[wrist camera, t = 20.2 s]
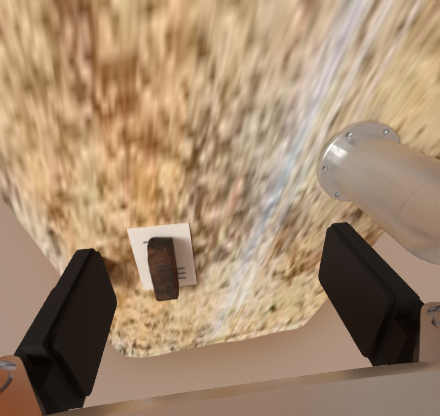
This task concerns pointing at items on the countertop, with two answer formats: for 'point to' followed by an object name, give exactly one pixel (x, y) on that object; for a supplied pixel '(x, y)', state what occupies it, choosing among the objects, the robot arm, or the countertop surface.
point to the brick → (163, 268)
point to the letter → (181, 248)
